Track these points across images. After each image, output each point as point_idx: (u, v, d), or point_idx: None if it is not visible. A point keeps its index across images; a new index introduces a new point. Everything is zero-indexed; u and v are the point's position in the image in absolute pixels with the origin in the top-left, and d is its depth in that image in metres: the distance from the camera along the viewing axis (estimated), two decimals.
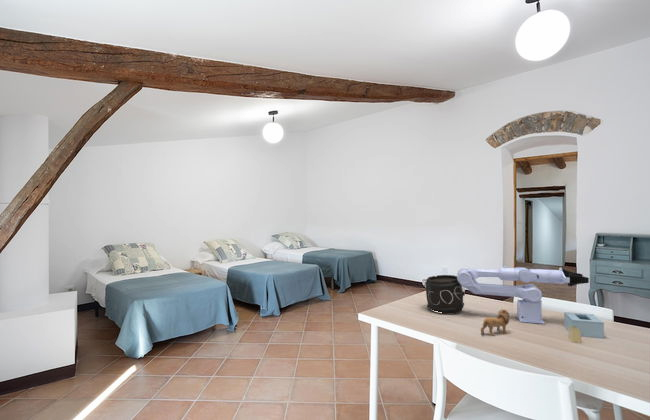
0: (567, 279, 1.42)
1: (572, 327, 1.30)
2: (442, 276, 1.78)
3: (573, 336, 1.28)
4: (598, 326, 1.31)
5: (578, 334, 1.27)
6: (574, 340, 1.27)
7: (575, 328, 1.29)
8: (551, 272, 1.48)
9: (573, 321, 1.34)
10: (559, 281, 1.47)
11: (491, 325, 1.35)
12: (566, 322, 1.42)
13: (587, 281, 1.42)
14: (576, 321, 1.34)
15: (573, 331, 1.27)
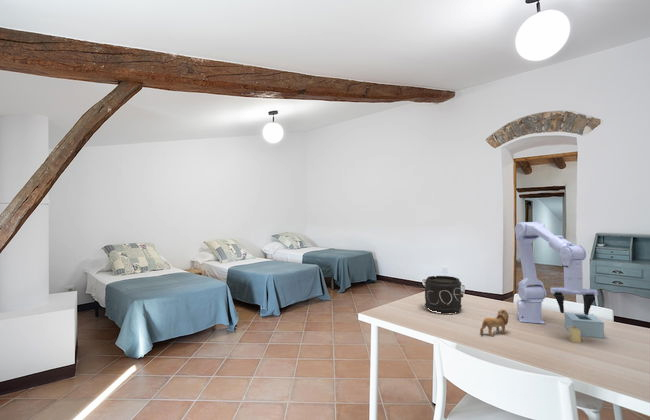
0: (551, 291, 1.32)
1: (572, 327, 1.30)
2: (441, 277, 1.78)
3: (573, 336, 1.28)
4: (598, 326, 1.31)
5: (578, 334, 1.27)
6: (574, 340, 1.27)
7: (575, 328, 1.29)
8: (568, 280, 1.28)
9: (573, 321, 1.34)
10: None
11: (490, 325, 1.35)
12: (566, 322, 1.42)
13: (560, 311, 1.32)
14: (576, 321, 1.34)
15: (573, 331, 1.28)
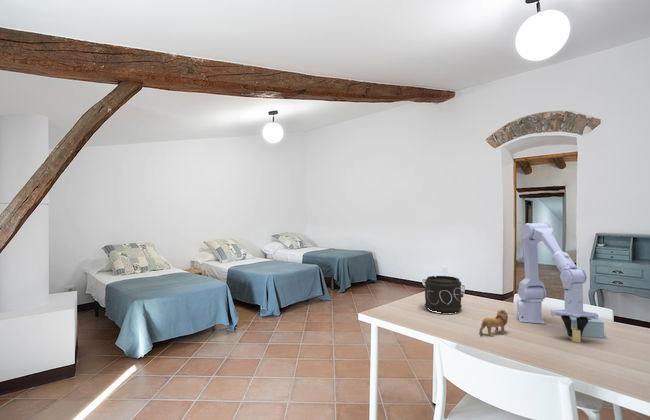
0: (551, 313, 1.32)
1: (572, 327, 1.30)
2: (441, 277, 1.78)
3: (573, 336, 1.28)
4: (598, 326, 1.31)
5: (578, 334, 1.27)
6: (574, 340, 1.27)
7: (575, 328, 1.29)
8: (569, 303, 1.28)
9: (573, 321, 1.34)
10: None
11: (489, 325, 1.35)
12: None
13: None
14: (576, 321, 1.34)
15: (573, 331, 1.28)
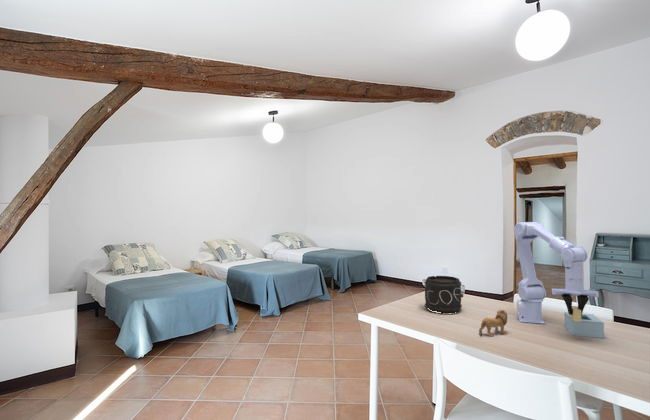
0: (552, 292, 1.33)
1: (573, 307, 1.31)
2: (441, 277, 1.78)
3: (574, 315, 1.29)
4: (598, 326, 1.31)
5: (579, 313, 1.28)
6: (575, 319, 1.28)
7: (576, 307, 1.30)
8: (570, 282, 1.30)
9: (573, 321, 1.34)
10: None
11: (489, 325, 1.35)
12: (566, 322, 1.42)
13: (568, 312, 1.32)
14: (576, 321, 1.34)
15: (574, 310, 1.28)
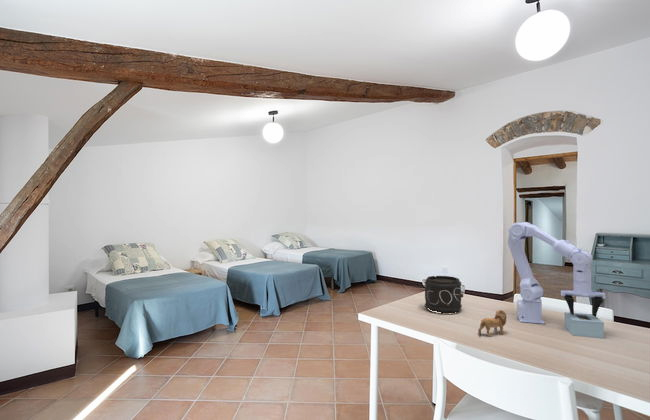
0: (561, 293, 1.40)
1: (581, 318, 1.39)
2: (441, 277, 1.78)
3: None
4: (598, 326, 1.31)
5: None
6: None
7: (584, 319, 1.37)
8: (578, 284, 1.37)
9: (573, 321, 1.34)
10: None
11: (488, 326, 1.35)
12: (566, 322, 1.42)
13: (570, 312, 1.40)
14: (576, 321, 1.34)
15: None
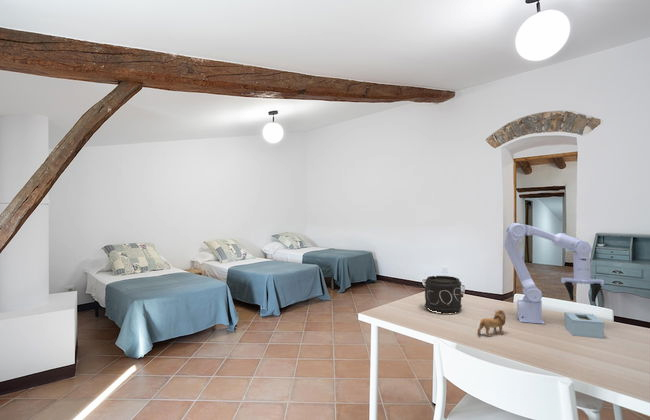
0: (562, 280, 1.48)
1: (581, 318, 1.39)
2: (441, 277, 1.78)
3: None
4: (598, 326, 1.31)
5: None
6: None
7: (584, 319, 1.37)
8: (578, 271, 1.45)
9: (573, 321, 1.34)
10: None
11: (488, 326, 1.34)
12: (566, 322, 1.42)
13: (570, 298, 1.48)
14: (576, 321, 1.34)
15: None
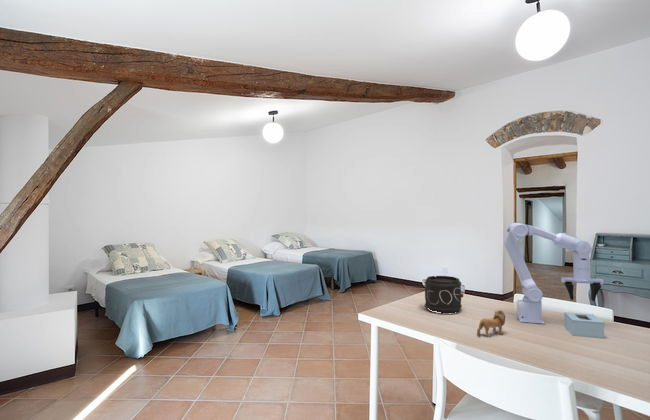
0: (562, 280, 1.49)
1: (581, 318, 1.39)
2: (441, 277, 1.78)
3: None
4: (598, 326, 1.31)
5: None
6: None
7: (584, 319, 1.37)
8: (578, 271, 1.46)
9: (573, 321, 1.34)
10: None
11: (487, 326, 1.34)
12: (566, 322, 1.42)
13: (570, 298, 1.49)
14: (576, 321, 1.34)
15: None
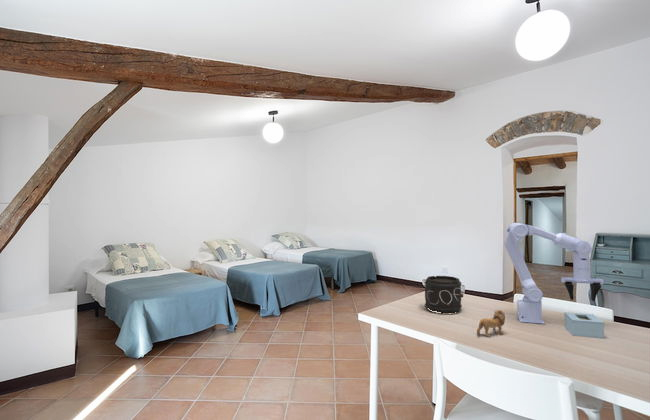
0: (562, 280, 1.49)
1: (581, 318, 1.39)
2: (441, 277, 1.78)
3: None
4: (598, 326, 1.31)
5: None
6: None
7: (584, 319, 1.37)
8: (578, 271, 1.46)
9: (573, 321, 1.34)
10: None
11: (487, 326, 1.34)
12: (566, 322, 1.42)
13: (570, 298, 1.49)
14: (576, 321, 1.34)
15: None
